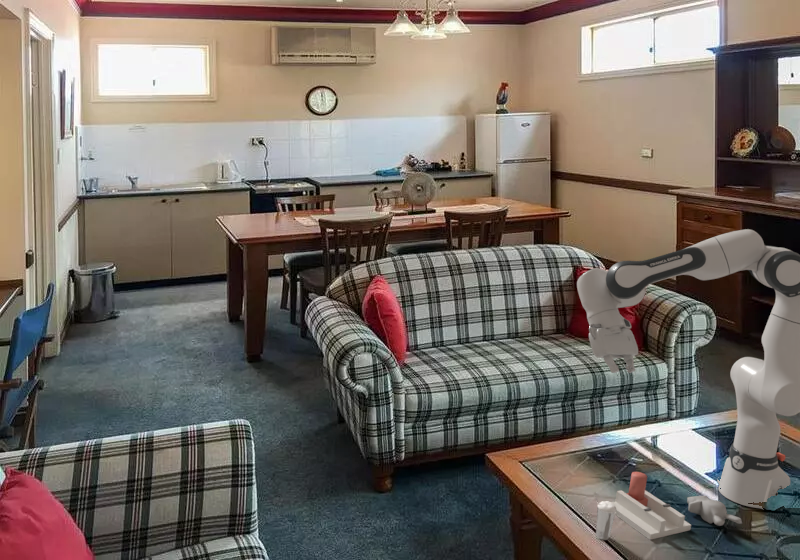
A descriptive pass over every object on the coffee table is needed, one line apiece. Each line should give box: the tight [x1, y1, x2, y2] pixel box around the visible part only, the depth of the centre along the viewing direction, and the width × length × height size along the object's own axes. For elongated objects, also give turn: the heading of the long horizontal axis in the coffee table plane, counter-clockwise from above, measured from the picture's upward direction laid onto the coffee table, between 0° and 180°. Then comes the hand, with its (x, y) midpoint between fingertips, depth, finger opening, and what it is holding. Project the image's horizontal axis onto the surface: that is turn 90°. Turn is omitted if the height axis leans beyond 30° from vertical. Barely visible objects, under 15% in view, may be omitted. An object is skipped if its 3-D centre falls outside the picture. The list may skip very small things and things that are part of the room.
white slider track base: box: [610, 489, 692, 540], centre depth 196 cm, size 14×16×5 cm
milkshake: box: [595, 496, 616, 541], centre depth 185 cm, size 4×5×10 cm
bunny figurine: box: [686, 495, 743, 527], centre depth 198 cm, size 10×5×15 cm
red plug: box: [625, 471, 648, 506], centre depth 199 cm, size 4×4×8 cm
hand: (623, 372), depth 203 cm, fingers open, 8 cm apart
